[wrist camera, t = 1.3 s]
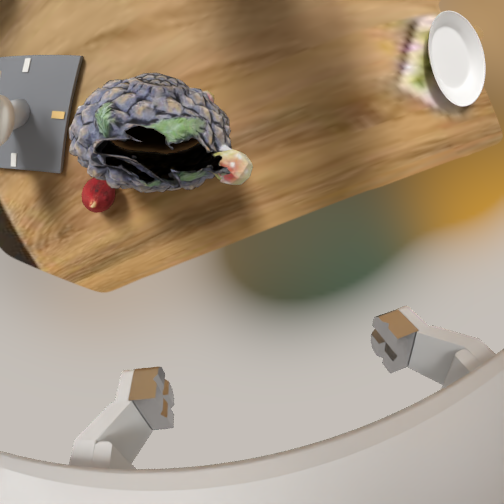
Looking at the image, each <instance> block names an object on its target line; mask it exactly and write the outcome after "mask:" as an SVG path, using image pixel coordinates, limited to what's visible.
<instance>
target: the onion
mask: <svg viewBox="0 0 504 504" xmlns="http://www.w3.org/2000/svg"><path fill="white" fill-rule="evenodd" d="M114 199H115V188H111V187H110V186H109V185H108V184H107V182H106V180H97V179H96V178H92V179H91V180H89V181H88V182H87V183H86V184H85V186H84V188H83V191H82V202H83V204H84V205H85V207H86V208H87V209H88V210H90V211H92V212H103V211H105V210H107V209H109V207H110V206H111V205H112V204H113V202H114Z"/></svg>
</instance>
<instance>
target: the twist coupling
mask: <svg viewBox="0 0 504 504" xmlns="http://www.w3.org/2000/svg"><path fill="white" fill-rule="evenodd" d="M0 76H1V71H0ZM14 122H15V113H14V108H13V105H12V103H11V101H10V100H9V99H8V98H7V97H6V96H4V95H0V146H1V145H3V144H4V143H5V142H6V141H7V140H8V138H9V137H10V135H11V133H12V130H13V127H14Z"/></svg>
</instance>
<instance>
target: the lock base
mask: <svg viewBox="0 0 504 504" xmlns="http://www.w3.org/2000/svg"><path fill="white" fill-rule="evenodd" d="M82 60H83V56H72V55H27V56H10V57H0V71H1V76H0V95H4V96H6V97H7V98H8V99H9V100H10V101H11V103H12V105H13V108H14V113H15V122H14V127H13V130H12V133H11V135H10V137H9V138H8V140H7V141H6V142H5V143H4V144H3V145H1V146H0V168H10V169H21V170H32V171H42V172H52V173H61V172H62V171H63V163H64V154H65V145H66V138H67V131H68V124H69V118H70V112H71V107H72V102H73V97H74V92H75V88H76V83H77V79H78V75H79V71H80V67H81V63H82Z"/></svg>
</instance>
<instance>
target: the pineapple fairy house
mask: <svg viewBox="0 0 504 504" xmlns="http://www.w3.org/2000/svg"><path fill="white" fill-rule="evenodd" d="M135 126H142V127H145V128H152V129H154V130H156V131H158V132H160V133H161V134H163V135H164V136H166V140H165V144H166V145H167V146H168V147H169V148H170V149H172V150H173V149H174V148H173V147H171V146H170V145H169V144H171V143H174V144H177V143H181V142H182V141H188V140H190V138H194V139H197V140H198V142H199V143H198V144H197V145H195V146H193V147H191V148H189V149H188V150H181V151H178V152H176V153H168V154H164V153H157V152H145V151H133V150H127V149H124V148H121V147H119V146H116V145H115V144H114V143H112V141H110V140H121V141H127V140H129V139H132V140H135V141H139V140H136V139H135V138H133V137H132V136H130V135H128V134H127V133H126V132H125V131H126V130H128V129H130V128H133V127H135ZM230 132H231V130H230V127H229V118H228V116H227V115H226V113H225V112H224V111H222V110H221V109H220V108H219V107H218V106H217V105H216V104H214V95H213V94H211V93H210V92H209V91H202V90H201V89H196V88H190V87H188V86H187V85H186V84H185V83H184V82H183V81H181V80H179V79H176V78H173V77H170V76H166V75H163V74H159V73H145V74H141V75H138V76H136V77H133V78H130V79H125V80H110V81H108V82H107V83H106V84H105V85H104V86H103V87H102V88H98V89H97V90H95V91H94V92H93V93H92V95H90V96H89V97H88V98H87V99H86V101H85V103H84V105H82V106H79V107H78V109H77V112H76V114H75V117H74V120H73V122H72V124H71V126H70V128H69V139H71V140H72V142H71V144H70V149H69V152H70V154H71V155H74V156H78V162H79V163H80V164H81V165H82V166H83V167H86V168H88V169H87V173H88V174H89V175H90V176H91V177H94V178H96V179H97V180H106V182H107V184H108V185H109V186H110V187H111V188H120V187H121V188H122V189H126V188H134V189H136V190H138V191H140V192H145V193H149V192H155V191H159V192H164V191H166V190H170V191H173V190H179V189H181V188H184V189H186V190H192V189H194V188H195V187H199V186H201V185H202V184H203V182H204V181H205V180H206V179H207V178H213V177H214V176H216V177H217V178H218V179H219V180H220V182H222V183H226V184H230V185H241V184H242V183H244V182H245V181H246V180H247V179H248V178H249V177H250V175H251V171H252V168H253V166H252V163H251V161H250V160H249V159H248V157H247V156H246V155H245V154H243V153H241V152H239V151H236V150H233V149H232V148H231V141H230V138H229V134H230ZM140 142H142V141H140Z"/></svg>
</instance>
